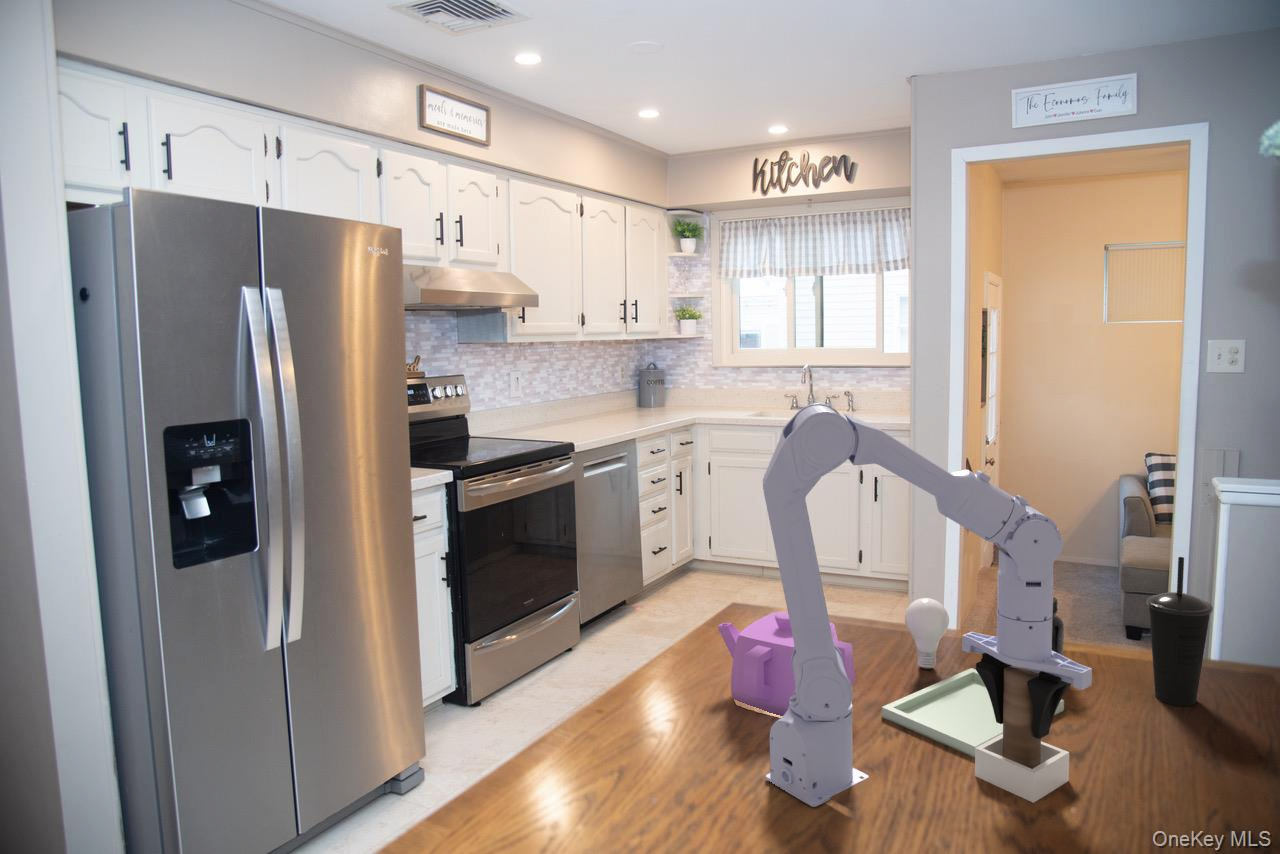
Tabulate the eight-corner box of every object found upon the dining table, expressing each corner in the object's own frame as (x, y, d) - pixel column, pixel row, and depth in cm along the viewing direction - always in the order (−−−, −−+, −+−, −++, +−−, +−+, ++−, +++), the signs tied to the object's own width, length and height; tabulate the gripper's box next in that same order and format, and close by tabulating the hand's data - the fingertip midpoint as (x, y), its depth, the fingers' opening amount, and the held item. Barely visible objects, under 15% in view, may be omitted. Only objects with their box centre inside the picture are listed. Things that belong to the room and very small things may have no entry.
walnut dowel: (1027, 776, 97) (1029, 682, 96) (995, 762, 100) (996, 671, 99) (1047, 764, 99) (1049, 673, 98) (1014, 751, 102) (1016, 662, 101)
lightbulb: (895, 665, 134) (896, 596, 133) (927, 657, 137) (927, 589, 136) (925, 680, 129) (925, 608, 127) (957, 671, 131) (958, 601, 130)
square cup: (1033, 807, 95) (1034, 773, 95) (974, 780, 101) (975, 747, 100) (1068, 785, 99) (1069, 752, 99) (1010, 760, 105) (1010, 729, 104)
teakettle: (746, 731, 115) (745, 641, 114) (716, 679, 132) (714, 601, 130) (868, 717, 118) (867, 630, 116) (823, 668, 134) (822, 591, 133)
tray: (974, 762, 105) (975, 746, 105) (881, 721, 116) (881, 706, 116) (1063, 714, 116) (1064, 700, 116) (971, 681, 128) (971, 668, 127)
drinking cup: (1189, 686, 123) (1196, 549, 121) (1220, 711, 116) (1227, 565, 113) (1133, 686, 124) (1138, 550, 121) (1159, 710, 116) (1165, 565, 114)
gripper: (1108, 622, 94) (1104, 741, 96) (987, 590, 106) (985, 696, 107) (1073, 637, 90) (1069, 761, 92) (951, 603, 102) (950, 713, 103)
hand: (1022, 728), depth 99 cm, fingers closed on walnut dowel, 4 cm apart
